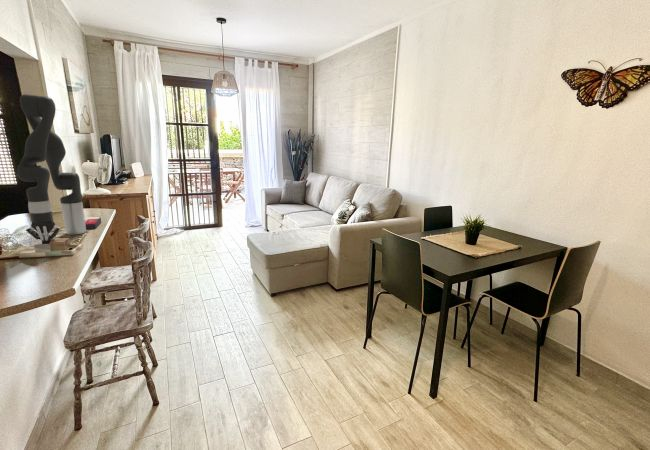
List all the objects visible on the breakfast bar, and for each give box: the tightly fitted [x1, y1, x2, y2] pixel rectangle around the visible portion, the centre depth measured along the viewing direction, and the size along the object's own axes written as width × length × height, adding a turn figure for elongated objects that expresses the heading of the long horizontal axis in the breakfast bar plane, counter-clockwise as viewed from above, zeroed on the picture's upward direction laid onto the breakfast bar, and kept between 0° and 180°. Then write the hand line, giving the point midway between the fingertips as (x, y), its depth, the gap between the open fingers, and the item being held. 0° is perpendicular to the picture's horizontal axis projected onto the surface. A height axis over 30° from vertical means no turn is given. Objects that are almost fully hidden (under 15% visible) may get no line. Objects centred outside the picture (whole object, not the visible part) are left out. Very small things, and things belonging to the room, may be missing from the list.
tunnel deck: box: [17, 237, 84, 259], centre depth 148 cm, size 10×20×6 cm, turn 107°
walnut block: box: [49, 237, 71, 251], centre depth 148 cm, size 6×6×4 cm
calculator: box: [85, 216, 102, 230], centre depth 192 cm, size 11×4×15 cm
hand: (47, 247), depth 147 cm, fingers closed
